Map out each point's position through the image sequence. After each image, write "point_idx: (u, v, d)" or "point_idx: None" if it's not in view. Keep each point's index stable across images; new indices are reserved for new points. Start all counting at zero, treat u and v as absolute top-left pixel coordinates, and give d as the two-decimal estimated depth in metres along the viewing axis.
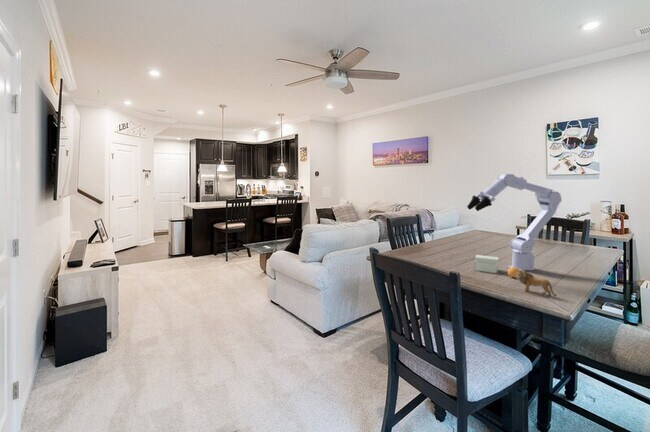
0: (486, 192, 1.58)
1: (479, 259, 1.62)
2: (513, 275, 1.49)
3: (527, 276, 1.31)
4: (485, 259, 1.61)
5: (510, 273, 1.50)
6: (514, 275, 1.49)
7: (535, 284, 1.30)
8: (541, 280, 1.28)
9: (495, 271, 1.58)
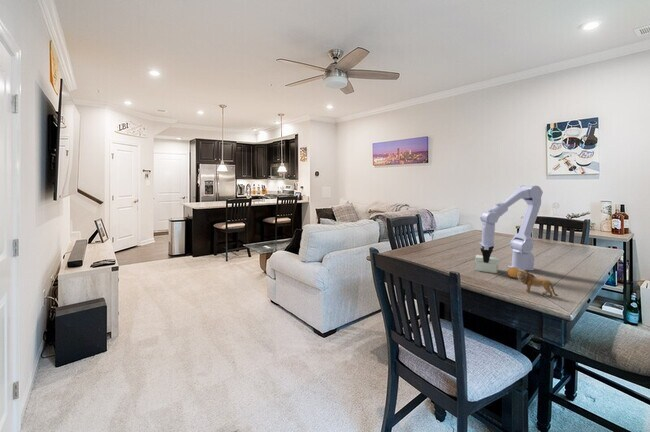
0: (482, 241, 1.62)
1: (479, 259, 1.62)
2: (513, 275, 1.49)
3: (528, 276, 1.31)
4: None
5: (510, 273, 1.50)
6: (514, 275, 1.49)
7: (536, 284, 1.29)
8: (542, 280, 1.28)
9: (495, 271, 1.58)
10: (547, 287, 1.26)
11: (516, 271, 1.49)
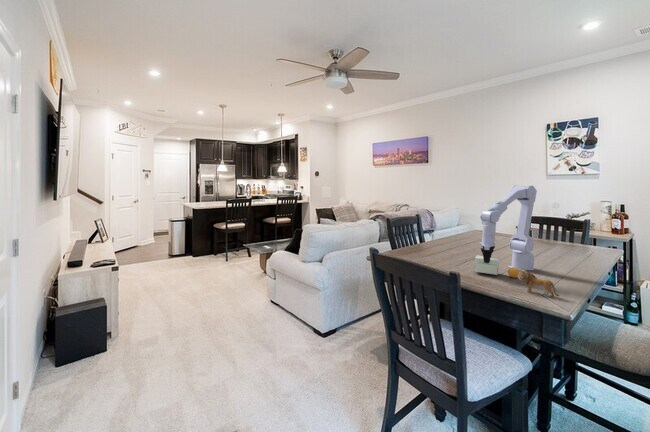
0: (482, 241, 1.55)
1: (479, 260, 1.55)
2: (513, 275, 1.49)
3: (530, 277, 1.31)
4: None
5: (510, 273, 1.50)
6: (514, 275, 1.49)
7: (538, 285, 1.29)
8: (544, 281, 1.27)
9: (496, 272, 1.52)
10: (548, 287, 1.26)
11: (516, 271, 1.49)
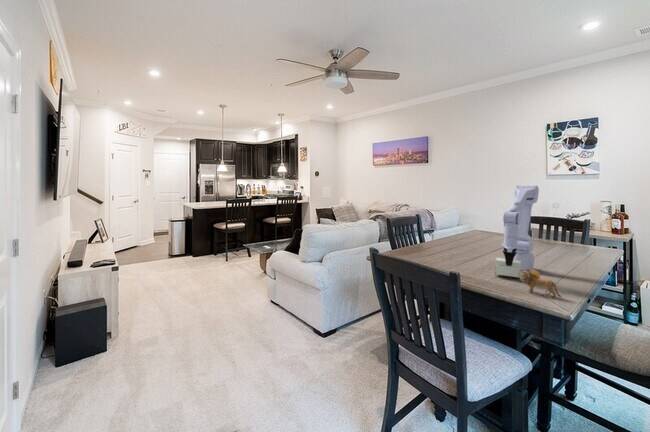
0: (504, 243, 1.50)
1: (500, 262, 1.51)
2: None
3: (531, 277, 1.30)
4: None
5: None
6: None
7: (539, 285, 1.29)
8: (546, 281, 1.27)
9: (518, 275, 1.47)
10: (550, 288, 1.25)
11: None
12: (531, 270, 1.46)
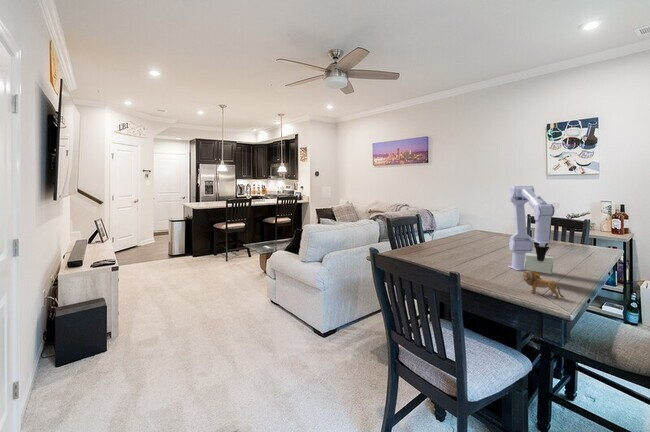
0: (535, 237, 1.43)
1: (531, 257, 1.44)
2: None
3: (534, 277, 1.30)
4: None
5: None
6: None
7: (542, 285, 1.28)
8: (548, 281, 1.26)
9: (550, 271, 1.40)
10: (553, 288, 1.25)
11: None
12: None
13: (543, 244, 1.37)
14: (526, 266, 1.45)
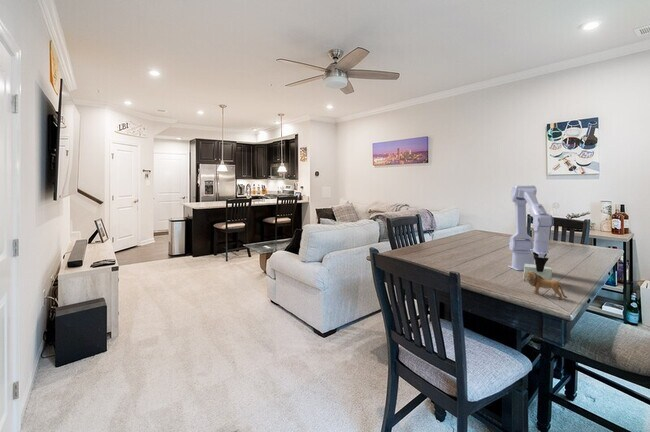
0: (534, 248, 1.44)
1: (529, 269, 1.45)
2: None
3: (537, 278, 1.29)
4: None
5: None
6: None
7: (545, 286, 1.27)
8: (551, 282, 1.26)
9: None
10: (556, 289, 1.24)
11: None
12: None
13: (542, 255, 1.38)
14: None
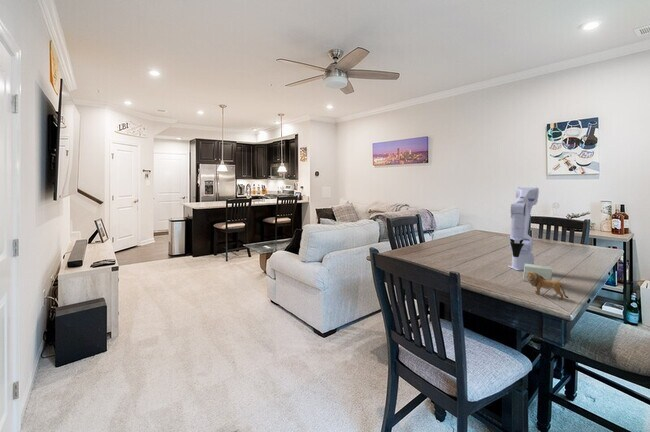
0: (511, 234, 1.51)
1: (529, 269, 1.45)
2: None
3: (538, 278, 1.29)
4: (537, 269, 1.43)
5: None
6: None
7: (546, 286, 1.27)
8: (553, 282, 1.25)
9: None
10: (558, 289, 1.24)
11: None
12: None
13: (518, 241, 1.45)
14: (525, 277, 1.45)
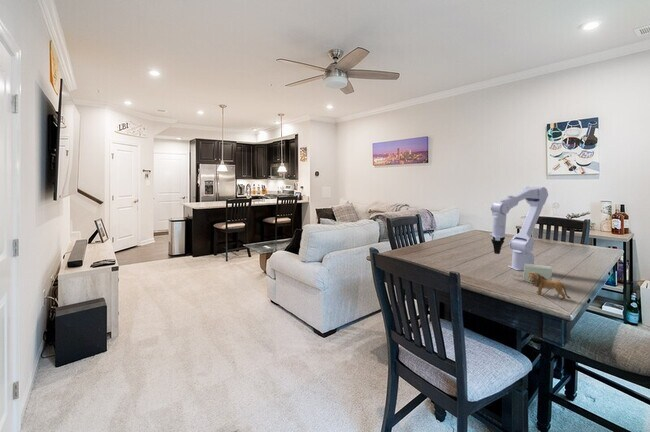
0: (493, 232, 1.57)
1: (529, 269, 1.45)
2: None
3: (540, 278, 1.28)
4: (537, 269, 1.43)
5: None
6: None
7: (548, 287, 1.27)
8: (555, 282, 1.25)
9: None
10: (559, 289, 1.23)
11: None
12: None
13: (498, 238, 1.51)
14: (525, 277, 1.45)
